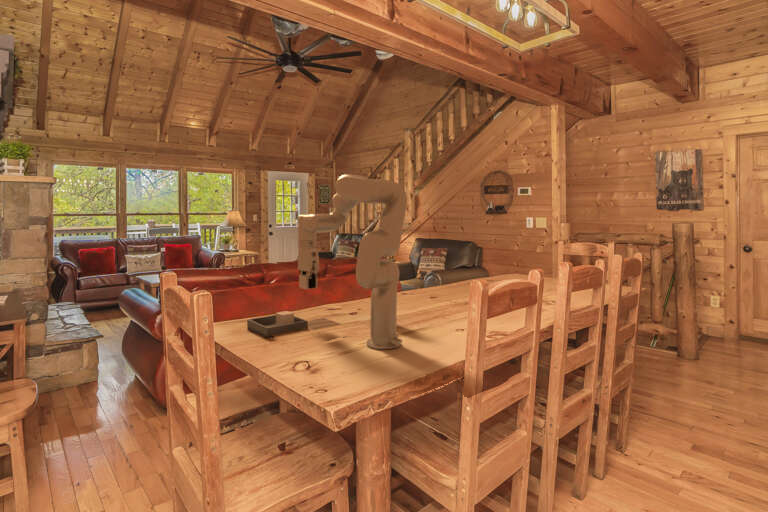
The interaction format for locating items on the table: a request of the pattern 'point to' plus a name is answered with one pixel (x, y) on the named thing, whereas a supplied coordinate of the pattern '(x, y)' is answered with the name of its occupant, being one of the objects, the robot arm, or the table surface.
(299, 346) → the table surface
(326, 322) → the walnut board
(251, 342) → the table surface
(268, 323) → the charcoal bin
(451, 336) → the table surface
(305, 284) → the beige cube
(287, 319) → the peach cube
